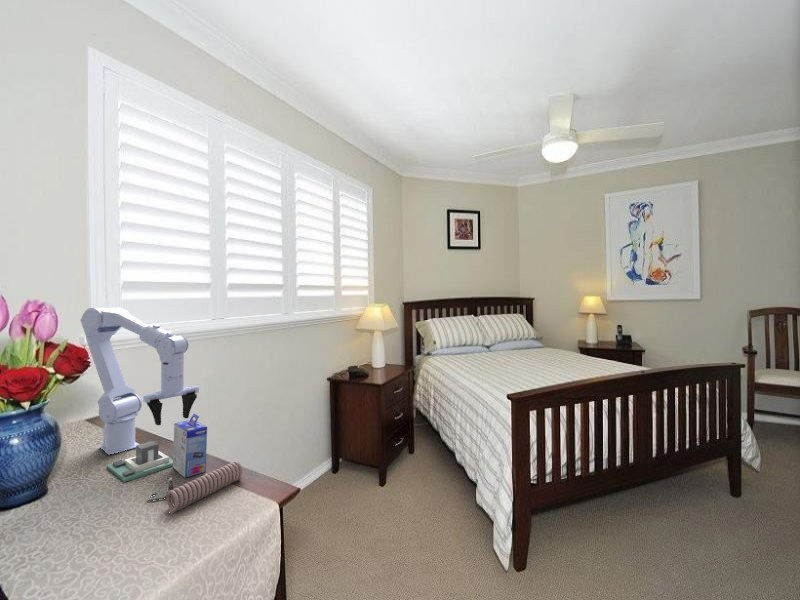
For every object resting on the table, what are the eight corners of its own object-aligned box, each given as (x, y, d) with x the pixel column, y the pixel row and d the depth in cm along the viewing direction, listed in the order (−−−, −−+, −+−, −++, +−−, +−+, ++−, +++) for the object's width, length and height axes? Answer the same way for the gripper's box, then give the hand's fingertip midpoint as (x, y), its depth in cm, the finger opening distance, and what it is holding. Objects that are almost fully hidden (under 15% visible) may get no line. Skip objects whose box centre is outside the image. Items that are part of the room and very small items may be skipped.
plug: (135, 463, 99) (136, 445, 99) (152, 458, 102) (152, 440, 102) (142, 468, 96) (142, 449, 96) (159, 462, 100) (159, 444, 100)
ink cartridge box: (207, 471, 96) (208, 417, 96) (185, 479, 92) (185, 422, 92) (193, 460, 103) (194, 410, 103) (172, 467, 99) (172, 414, 99)
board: (106, 468, 98) (107, 460, 98) (156, 453, 108) (156, 446, 108) (124, 482, 90) (124, 474, 90) (176, 464, 100) (176, 457, 100)
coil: (175, 496, 76) (246, 463, 92) (162, 489, 78) (234, 457, 94) (173, 517, 77) (245, 480, 93) (161, 509, 79) (232, 474, 95)
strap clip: (146, 504, 81) (146, 485, 81) (150, 497, 84) (150, 479, 84) (189, 496, 85) (189, 478, 85) (191, 490, 87) (191, 473, 87)
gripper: (150, 382, 100) (150, 430, 100) (203, 373, 112) (203, 417, 112) (140, 378, 104) (140, 425, 104) (192, 371, 116) (192, 413, 116)
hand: (172, 421), depth 108 cm, fingers open, 7 cm apart
